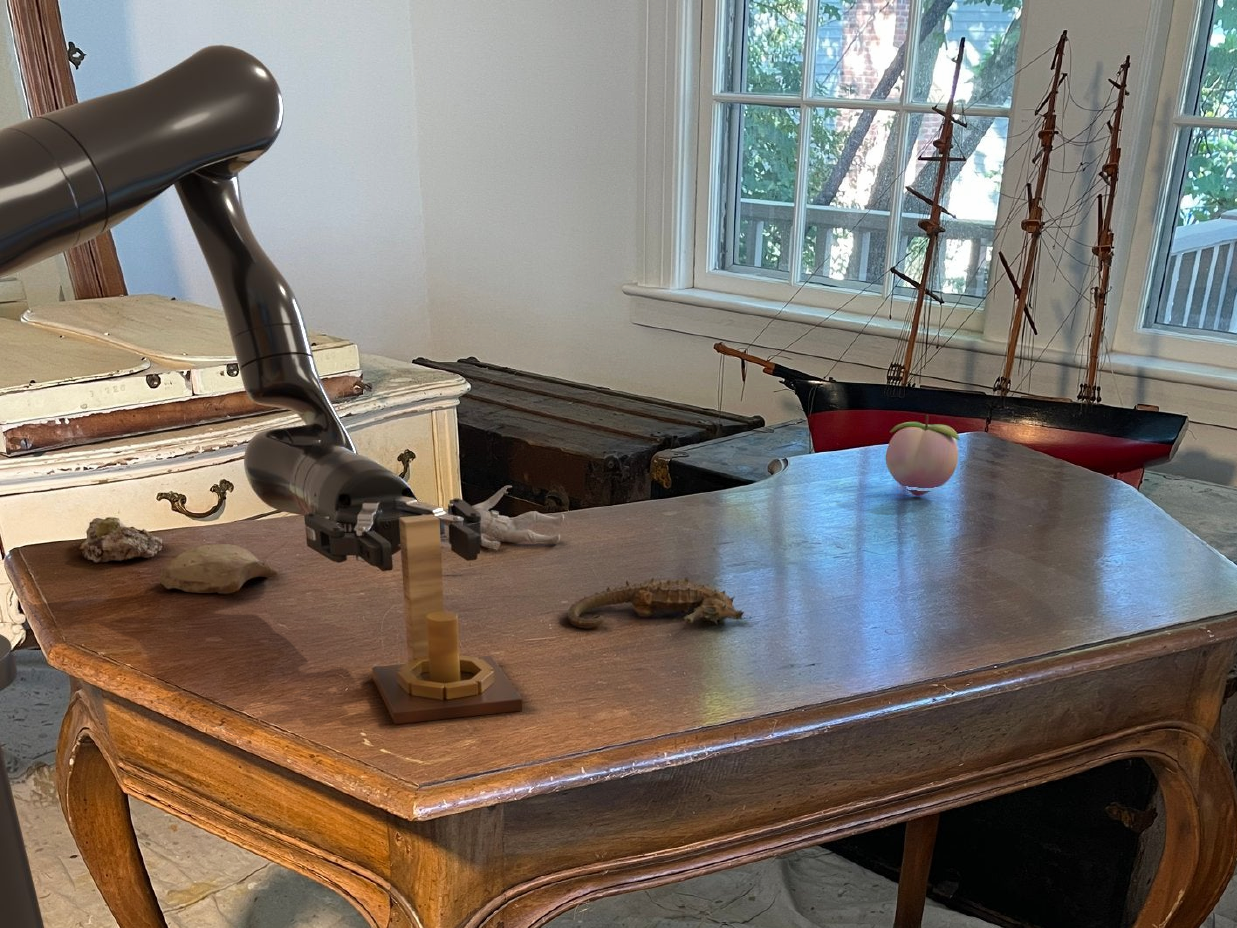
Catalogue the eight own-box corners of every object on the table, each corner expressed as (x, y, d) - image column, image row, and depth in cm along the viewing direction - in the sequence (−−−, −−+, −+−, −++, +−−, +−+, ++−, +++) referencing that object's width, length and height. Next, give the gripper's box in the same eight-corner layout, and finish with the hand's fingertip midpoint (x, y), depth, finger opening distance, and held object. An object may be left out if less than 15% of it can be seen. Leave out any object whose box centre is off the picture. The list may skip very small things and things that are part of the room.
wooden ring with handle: (505, 690, 102) (501, 539, 96) (418, 704, 99) (408, 549, 93) (465, 655, 109) (458, 511, 103) (382, 667, 106) (370, 520, 100)
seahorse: (576, 597, 126) (576, 566, 125) (742, 605, 126) (744, 574, 124) (564, 629, 118) (564, 596, 117) (742, 638, 118) (744, 605, 116)
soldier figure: (555, 562, 140) (447, 528, 137) (544, 582, 144) (439, 549, 141) (568, 500, 142) (462, 465, 139) (557, 521, 147) (453, 487, 143)
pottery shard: (156, 603, 125) (226, 596, 120) (144, 557, 124) (213, 548, 118) (241, 582, 134) (309, 575, 128) (230, 539, 132) (299, 530, 127)
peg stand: (394, 724, 98) (388, 642, 95) (372, 678, 106) (366, 601, 103) (522, 710, 101) (521, 631, 98) (491, 666, 109) (489, 591, 106)
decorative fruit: (960, 493, 170) (972, 414, 165) (946, 506, 163) (957, 424, 158) (890, 484, 173) (900, 406, 168) (873, 497, 166) (883, 416, 161)
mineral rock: (178, 534, 133) (96, 523, 127) (173, 577, 134) (92, 567, 129) (143, 515, 140) (65, 503, 135) (138, 555, 141) (61, 545, 136)
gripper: (271, 466, 107) (336, 513, 95) (435, 452, 114) (515, 495, 101) (281, 555, 111) (344, 612, 98) (439, 537, 117) (517, 588, 105)
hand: (431, 552), depth 100 cm, fingers open, 6 cm apart
